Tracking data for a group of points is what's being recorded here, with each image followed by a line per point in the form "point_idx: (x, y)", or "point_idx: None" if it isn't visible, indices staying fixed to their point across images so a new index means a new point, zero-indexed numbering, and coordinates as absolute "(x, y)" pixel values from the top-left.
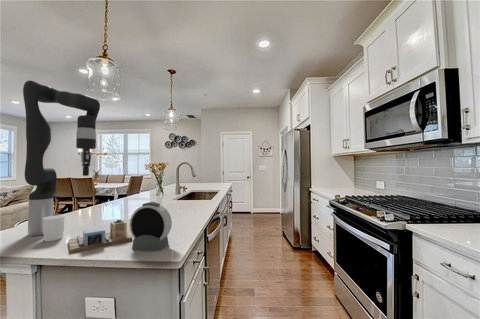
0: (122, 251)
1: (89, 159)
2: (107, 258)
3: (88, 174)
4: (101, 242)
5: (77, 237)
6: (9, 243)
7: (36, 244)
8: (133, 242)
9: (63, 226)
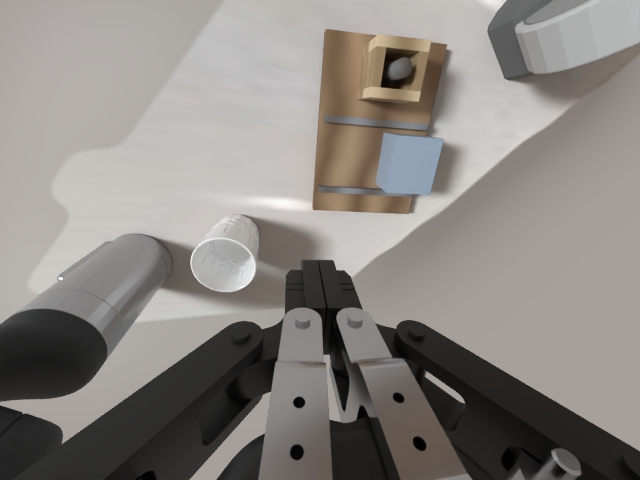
0: (500, 108)
1: (550, 413)
2: (509, 151)
3: (333, 264)
4: None
5: (333, 192)
6: (214, 308)
7: (267, 264)
8: (529, 74)
9: (239, 226)
